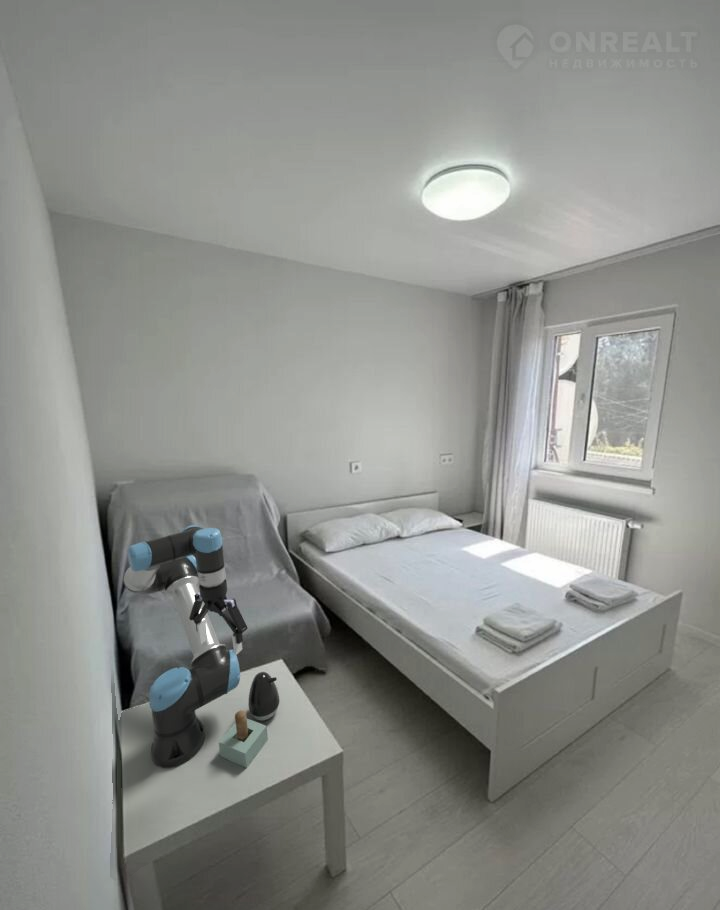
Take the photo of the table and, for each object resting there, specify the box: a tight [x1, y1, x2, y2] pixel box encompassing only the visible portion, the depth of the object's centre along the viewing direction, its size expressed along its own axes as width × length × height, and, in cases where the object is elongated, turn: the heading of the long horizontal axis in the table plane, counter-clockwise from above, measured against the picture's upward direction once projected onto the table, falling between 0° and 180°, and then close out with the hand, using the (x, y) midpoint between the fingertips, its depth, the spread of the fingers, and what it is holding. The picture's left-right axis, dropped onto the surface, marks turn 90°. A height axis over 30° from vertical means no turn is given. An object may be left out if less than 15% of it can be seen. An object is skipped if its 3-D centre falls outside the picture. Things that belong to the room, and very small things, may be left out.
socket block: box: [218, 718, 269, 769], centre depth 122 cm, size 10×10×5 cm
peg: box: [234, 710, 249, 742], centre depth 121 cm, size 3×3×12 cm
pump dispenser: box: [247, 671, 281, 721], centre depth 133 cm, size 10×10×15 cm
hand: (220, 646), depth 119 cm, fingers open, 13 cm apart
